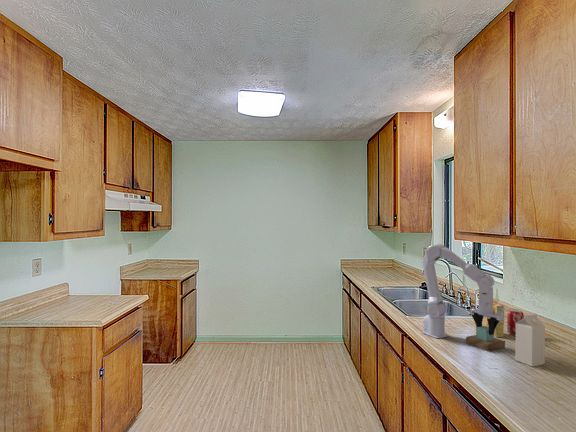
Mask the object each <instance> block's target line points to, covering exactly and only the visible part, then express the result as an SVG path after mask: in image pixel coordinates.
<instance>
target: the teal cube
mask: <svg viewBox="0 0 576 432" xmlns="http://www.w3.org/2000/svg"><path fill="white" fill-rule="evenodd" d="M475 329H476V330H475V335H476V338H477V339H480V340H483V341H491V340H494V338H495V336H494V334H493V335H489V327H486V326H485V325H482V326H480V327H475Z"/></svg>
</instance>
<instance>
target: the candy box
mask: <svg viewBox="0 0 576 432" xmlns="http://www.w3.org/2000/svg"><path fill="white" fill-rule="evenodd" d="M493 313H496V314H498V315H501V316H502V320H500V321H499V323H498V324H497V326H496V328H495V331H494V338H504V327H505V325H504V324H505V305H504V304H500V303H497V302H494V301H493ZM484 317H485V321H484V323H485V324H484V326H486V327H489V325H488V321H487V319H491V318H489V317H486V316H484Z"/></svg>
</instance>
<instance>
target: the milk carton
mask: <svg viewBox="0 0 576 432" xmlns="http://www.w3.org/2000/svg"><path fill="white" fill-rule="evenodd" d="M545 344H546V326H545V325H544V323H543V322H542V321H541V320H540V319H539V318H538V315H537V313H536V314H535V313H534V314H525V315H524V318H523V319H522V320H520V321H519V322H517V323H516V336H515V347H514V348H515V349H514V350H515V352H514V353H515V360H514V361H517V362H520V363H522V364H524V365H527V366H530V367H537V366H543V365H545V361H546V360H545V359H546V357H545V356H546V355H545V353H546V352H545V351H546V345H545Z"/></svg>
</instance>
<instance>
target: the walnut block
mask: <svg viewBox="0 0 576 432" xmlns="http://www.w3.org/2000/svg"><path fill="white" fill-rule="evenodd" d="M465 338H466V339H465V344H466V345H469V346H472V347H475V348H477V349H479V350H483V351H485V352H492V351H497V350H498V351H499V350H501V349H505V348H506V341H505V340H503V339H500V338H498V337H494V340H491V341H483V340H480V339H477V338H476V334H474V335H469V336H465Z"/></svg>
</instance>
